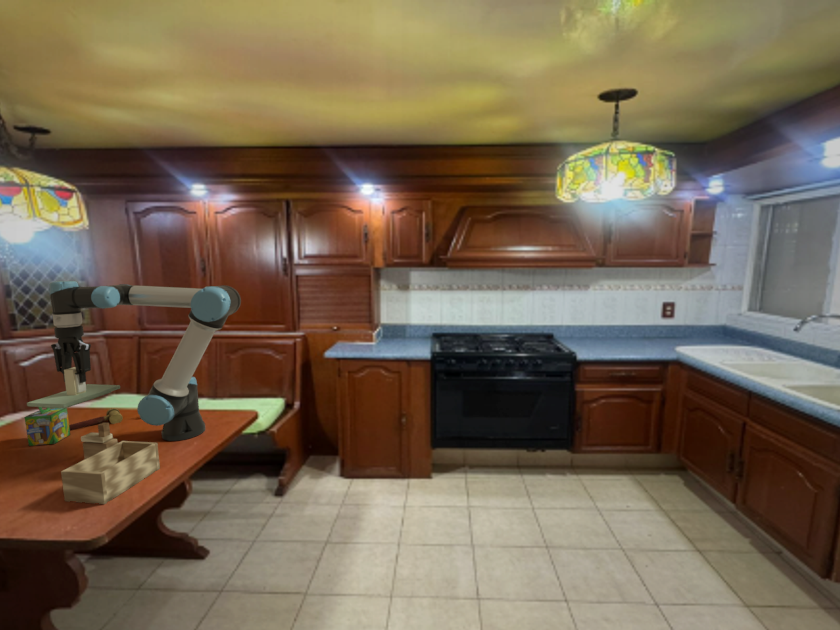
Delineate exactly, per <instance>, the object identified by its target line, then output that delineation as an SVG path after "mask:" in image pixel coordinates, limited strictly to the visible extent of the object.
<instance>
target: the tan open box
mask: <svg viewBox="0 0 840 630" xmlns="http://www.w3.org/2000/svg"><path fill="white" fill-rule="evenodd" d="M82 449H83V457H84V459H83V460H81V461H79V462H78V463H77V462H76V463H75V464H72V465H70V466H69V467H67V468H66V469H63V470H61V471H60V473H61V483H62V490H63V496H64V502H70V501H76V502H75V503H82V502H85V503H84V504H95V503H99V504H98V505H106V504H107V502H108V501H109V502H110V500H111V501H112V500H114V499H115V498H116V497H119V496H120V495H122V494H123V493H124V492H126V491H128V490H129V489H130V488H133V487H134V486H135V485H137V484H138V483H140V482H141V481H143V480H145V479H147V477H150V476H151V475H152V474H155V471H156V472H157V471H159V470H160V469H161V466H160V464H161V463H160V457H159V455H160V454H159V445H158V442H151V441H149V442H148V441H133V440H132V441H130V440H129V441H128V440H121V441H120V442H118V438H112V439H110V440H108V441H106V442H104V443H97V442H82ZM144 478H145V479H144ZM113 498H114V499H113ZM109 502H108V503H109Z"/></svg>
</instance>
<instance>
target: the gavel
mask: <svg viewBox="0 0 840 630" xmlns="http://www.w3.org/2000/svg"><path fill="white" fill-rule="evenodd" d="M105 413H106V414H105V415H104V416H98V417H95V418H91V419H87V420H83V421H79V422H75V423H73V424H72V423H71V424H69V428H70V432H71V431H75V430H79V429H83V428H87V427H90V426H91V427H92V426H94V425H99V424H101V423H105V422H107V421H109V424H111V425H114V424H118V423H119V424H120V423H121V422H122V421H123V419H124V418H123V415H122V414H121V412H120V410H119V409H118V408H117V407H113V408H112V407H111V408H109V409H108V410H107V411H106V412H105Z"/></svg>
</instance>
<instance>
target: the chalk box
mask: <svg viewBox="0 0 840 630" xmlns="http://www.w3.org/2000/svg"><path fill="white" fill-rule="evenodd" d="M37 408H38V410H37V411H35V412H32V413H30V414H28V415H26V416H25V417H24V418H23V419H24V423H25V430H26V436H27V443H28V444H27V445H28V446H29V447H31V446H43V445H54V444H57V443H58V442H60V441H62V440H64V439H66V438H68V436H70V435H71V431H70V428H69V425H70V422H69V412H68V408H43V407H37Z"/></svg>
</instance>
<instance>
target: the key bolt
mask: <svg viewBox="0 0 840 630" xmlns="http://www.w3.org/2000/svg"><path fill="white" fill-rule="evenodd" d="M97 428H98V429H97V430H98V432H89V433H87V434H84V435H82V436H80V440H81V442H82V443H83V442H97V443H104V442H106V441H108V440H110V439H114V437H113V433H111V431H110V430H111V429H110V422H102V423H98V424H97Z"/></svg>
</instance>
